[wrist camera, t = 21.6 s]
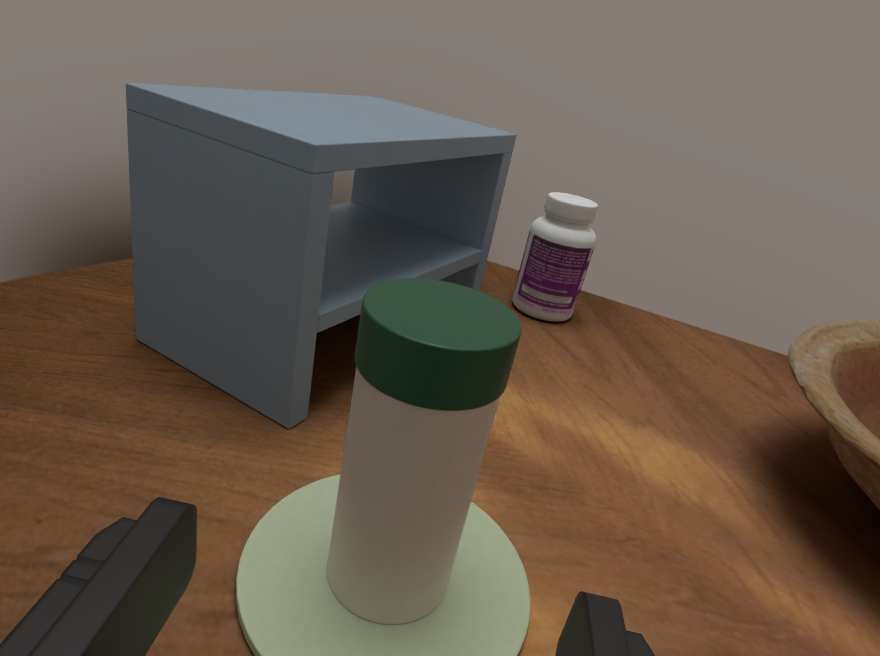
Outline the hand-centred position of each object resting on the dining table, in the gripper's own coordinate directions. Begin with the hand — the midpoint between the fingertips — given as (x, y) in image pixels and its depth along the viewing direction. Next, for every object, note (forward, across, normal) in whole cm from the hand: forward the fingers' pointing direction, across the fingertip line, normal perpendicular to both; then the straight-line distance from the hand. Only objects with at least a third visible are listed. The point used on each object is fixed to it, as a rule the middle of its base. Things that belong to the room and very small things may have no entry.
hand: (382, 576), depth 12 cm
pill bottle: (+38, +8, -9) cm, 40 cm away
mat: (+8, 0, -8) cm, 11 cm away
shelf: (+26, -8, -8) cm, 29 cm away
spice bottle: (+7, 0, -8) cm, 11 cm away
